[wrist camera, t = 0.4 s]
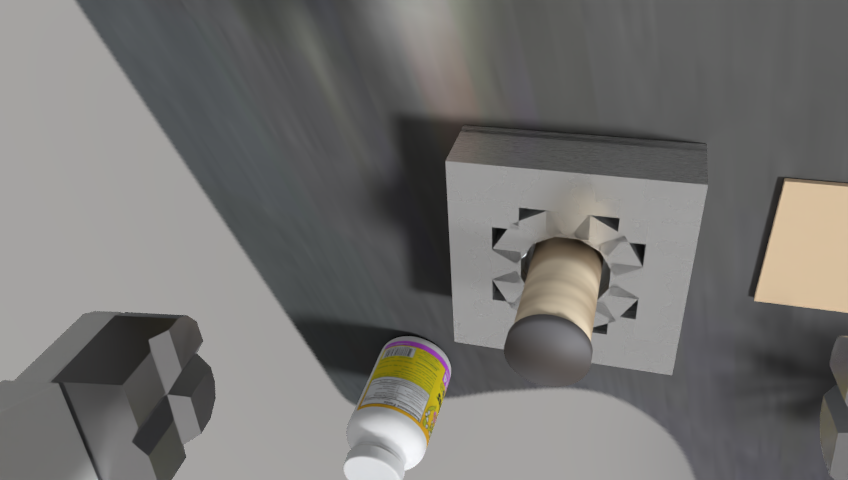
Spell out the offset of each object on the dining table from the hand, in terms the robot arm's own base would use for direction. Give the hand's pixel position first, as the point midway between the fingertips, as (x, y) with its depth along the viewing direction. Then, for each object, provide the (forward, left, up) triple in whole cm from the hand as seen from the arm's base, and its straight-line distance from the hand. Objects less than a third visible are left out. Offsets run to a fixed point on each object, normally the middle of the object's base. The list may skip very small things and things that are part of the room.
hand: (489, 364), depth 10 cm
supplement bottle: (+41, -15, -39) cm, 59 cm away
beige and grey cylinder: (+25, -2, -38) cm, 46 cm away
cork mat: (+24, +16, -39) cm, 48 cm away
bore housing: (+25, -2, -39) cm, 46 cm away
